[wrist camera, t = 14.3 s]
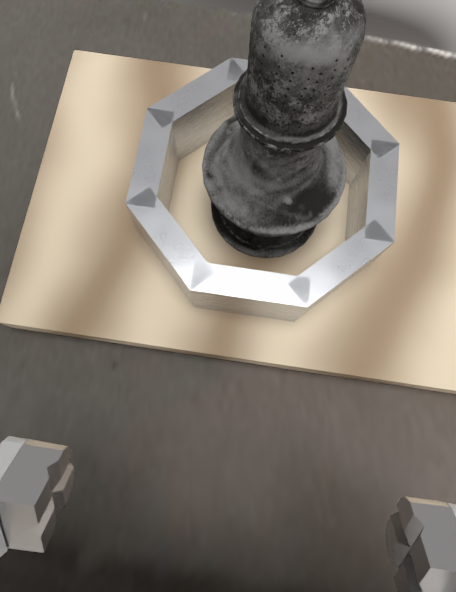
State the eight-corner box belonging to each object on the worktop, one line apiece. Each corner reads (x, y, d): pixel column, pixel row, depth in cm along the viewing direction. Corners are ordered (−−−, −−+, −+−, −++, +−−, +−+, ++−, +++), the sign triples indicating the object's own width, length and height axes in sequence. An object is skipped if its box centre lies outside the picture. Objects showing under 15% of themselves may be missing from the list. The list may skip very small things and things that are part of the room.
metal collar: (124, 297, 19) (107, 278, 16) (168, 94, 22) (160, 47, 19) (364, 332, 19) (390, 320, 16) (378, 124, 22) (402, 80, 19)
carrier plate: (11, 327, 20) (-5, 321, 19) (83, 71, 24) (74, 49, 22) (465, 395, 20) (485, 395, 18) (467, 124, 23) (483, 106, 22)
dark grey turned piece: (224, 141, 21) (229, -179, 9) (336, 170, 21) (484, -122, 9) (189, 245, 20) (146, 20, 8) (309, 278, 19) (445, 96, 8)
